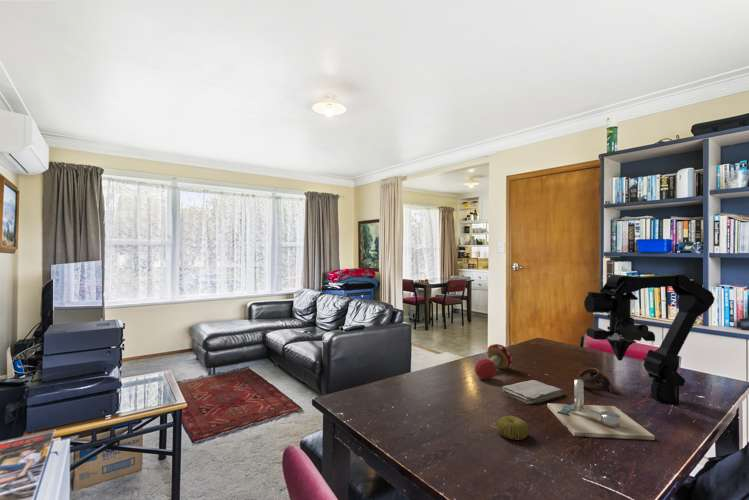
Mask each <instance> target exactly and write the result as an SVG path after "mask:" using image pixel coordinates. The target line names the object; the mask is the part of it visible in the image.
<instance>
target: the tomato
mask: <svg viewBox="0 0 749 500" xmlns="http://www.w3.org/2000/svg"><path fill="white" fill-rule="evenodd" d="M474 369H475V370H474V371H475V374H476V375H477V377H478V378H479V379H480V380H484V381H489V380H491V379H493V378H494V377H495V376H496V373H497V367H496V366H495V364H494V363H493V361H491V360H489V358H481V359H478V361H477V362H476V363H475V366H474Z"/></svg>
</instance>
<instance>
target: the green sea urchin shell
mask: <svg viewBox="0 0 749 500" xmlns="http://www.w3.org/2000/svg"><path fill="white" fill-rule="evenodd" d="M496 429H497V431H498V433H499V434H500V435H501V436H503V437H504V438H506V439H508V440H512V441H520V440H525V439H526V438H527V437H528V436H529V433H530V430H529V426H528V424H527V422H526V421H524V420H523V419H521V418H519V417H518V416H513V415H504V416H501V417H499V418H498V419H497V422H496Z"/></svg>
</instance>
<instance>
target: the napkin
mask: <svg viewBox="0 0 749 500" xmlns="http://www.w3.org/2000/svg"><path fill="white" fill-rule="evenodd" d="M546 405H547V406H546V407H547V408H548V409H549V411H551V412H552V414H554V415H555V417H556V418H557V419H558V420H559V421H560V423H562V425H563V426H564V427H565V426H566V427H567V428H568V429H567V428H566V427H565V428H566V429H567V430H568V431H569V432H570V433H571V434H572V436H574V437H584V436H585V437H587V438H588V437H589V438H604V439H605V438H607V439H627V440H647V441H655V436H656V435H654V434H652V433H651V432H650V431H648V430H647V429H646V428H644V427H643V426H642V425H640V424H639V423H638V422H636V421H635V420H634V419H632V418H631V417H630V416H628V415H627V414H626V413H624V412H623V411H621V410H620V409H619V408H617V407H616V406H614V405H593V404H584V408H587V409H590V410H594V411H597V412H600V413H601V412H603V411H607V412H612V413H615V414H617V415H619V416H620V427H617V428H614V427H609V426H606V425H604V424H602V423H601V418H597V417H594V416H591V415H588V414H585V413H582V412H579V411H575V410H572V409H569V408H566V403H546Z"/></svg>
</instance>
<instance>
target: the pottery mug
mask: <svg viewBox="0 0 749 500" xmlns="http://www.w3.org/2000/svg"><path fill="white" fill-rule="evenodd" d="M587 374H589V376H590V377H588V378H583V377H584V376H585V375H587ZM578 379H580V380H583V381H584V387H592V386H595V387H598V386H599V385H600V384H601V385H602V386H601V387H602V388H604V389H605V388H606V389H609V393H610V394H612V393H613V388H612V385H611V384H612V383H611V381H610V380H609V377H608V376H607V375H606V374H605V373H603V372H602V371H600V370H599V369H598V368H595V367H589V368H585V369H583V370H582V371H580V372H579V376H578Z"/></svg>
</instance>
